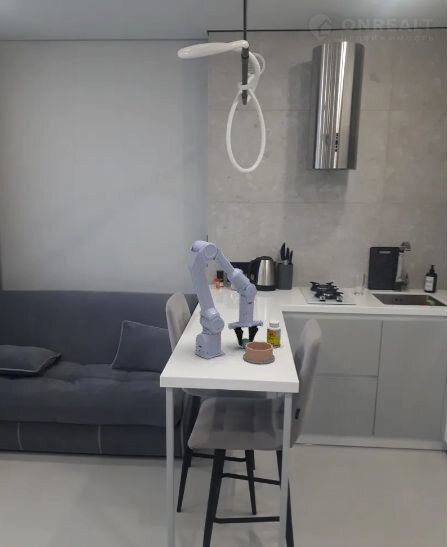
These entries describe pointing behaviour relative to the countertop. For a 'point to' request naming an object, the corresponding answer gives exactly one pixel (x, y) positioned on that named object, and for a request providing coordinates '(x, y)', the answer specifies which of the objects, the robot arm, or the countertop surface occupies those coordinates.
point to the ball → (245, 342)
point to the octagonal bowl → (259, 353)
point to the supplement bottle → (274, 333)
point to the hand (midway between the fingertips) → (245, 344)
